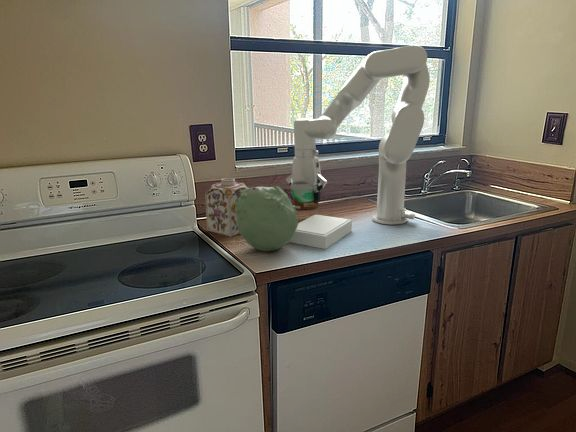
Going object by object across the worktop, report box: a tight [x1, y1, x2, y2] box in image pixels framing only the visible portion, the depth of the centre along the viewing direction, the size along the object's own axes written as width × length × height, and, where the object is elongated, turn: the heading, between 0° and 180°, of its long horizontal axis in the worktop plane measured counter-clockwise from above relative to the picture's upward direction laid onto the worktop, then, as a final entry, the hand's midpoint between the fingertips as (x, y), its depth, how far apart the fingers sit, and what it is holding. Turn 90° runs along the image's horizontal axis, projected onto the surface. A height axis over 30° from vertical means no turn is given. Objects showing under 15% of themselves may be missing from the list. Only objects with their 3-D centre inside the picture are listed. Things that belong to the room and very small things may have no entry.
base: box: [287, 214, 353, 250], centre depth 149 cm, size 14×20×4 cm
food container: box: [289, 181, 321, 212], centre depth 166 cm, size 12×6×10 cm, turn 118°
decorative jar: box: [204, 177, 249, 238], centre depth 154 cm, size 12×12×18 cm
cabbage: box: [234, 185, 299, 252], centre depth 135 cm, size 16×19×20 cm
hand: (306, 201), depth 167 cm, fingers closed on food container, 7 cm apart
